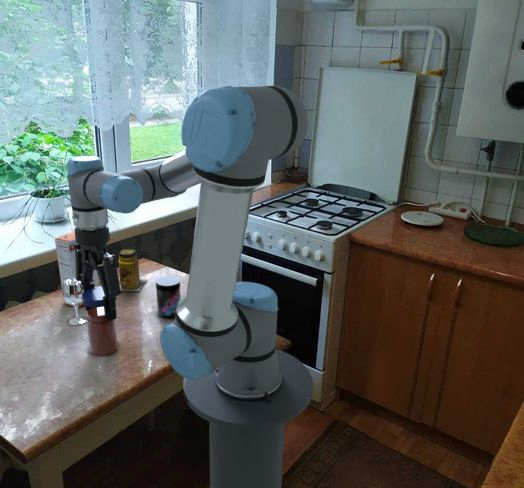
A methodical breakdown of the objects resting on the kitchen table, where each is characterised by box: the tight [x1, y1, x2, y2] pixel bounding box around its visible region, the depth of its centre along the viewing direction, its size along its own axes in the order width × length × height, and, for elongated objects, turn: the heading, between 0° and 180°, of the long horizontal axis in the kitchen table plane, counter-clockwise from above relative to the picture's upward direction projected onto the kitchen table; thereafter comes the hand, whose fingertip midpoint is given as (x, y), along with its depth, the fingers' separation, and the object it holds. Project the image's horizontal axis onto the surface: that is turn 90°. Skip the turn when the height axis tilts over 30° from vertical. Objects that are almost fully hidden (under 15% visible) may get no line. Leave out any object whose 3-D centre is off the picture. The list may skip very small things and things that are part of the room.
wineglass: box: [62, 278, 87, 326], centre depth 135 cm, size 6×6×12 cm
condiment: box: [118, 248, 147, 292], centre depth 157 cm, size 7×8×12 cm
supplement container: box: [155, 275, 182, 319], centre depth 141 cm, size 7×7×10 cm
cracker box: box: [54, 230, 104, 308], centre depth 147 cm, size 14×6×21 cm, turn 154°
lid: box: [82, 286, 117, 308], centre depth 119 cm, size 8×8×2 cm
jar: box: [86, 307, 119, 357], centre depth 123 cm, size 7×7×11 cm
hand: (101, 314), depth 121 cm, fingers closed on lid, 8 cm apart
